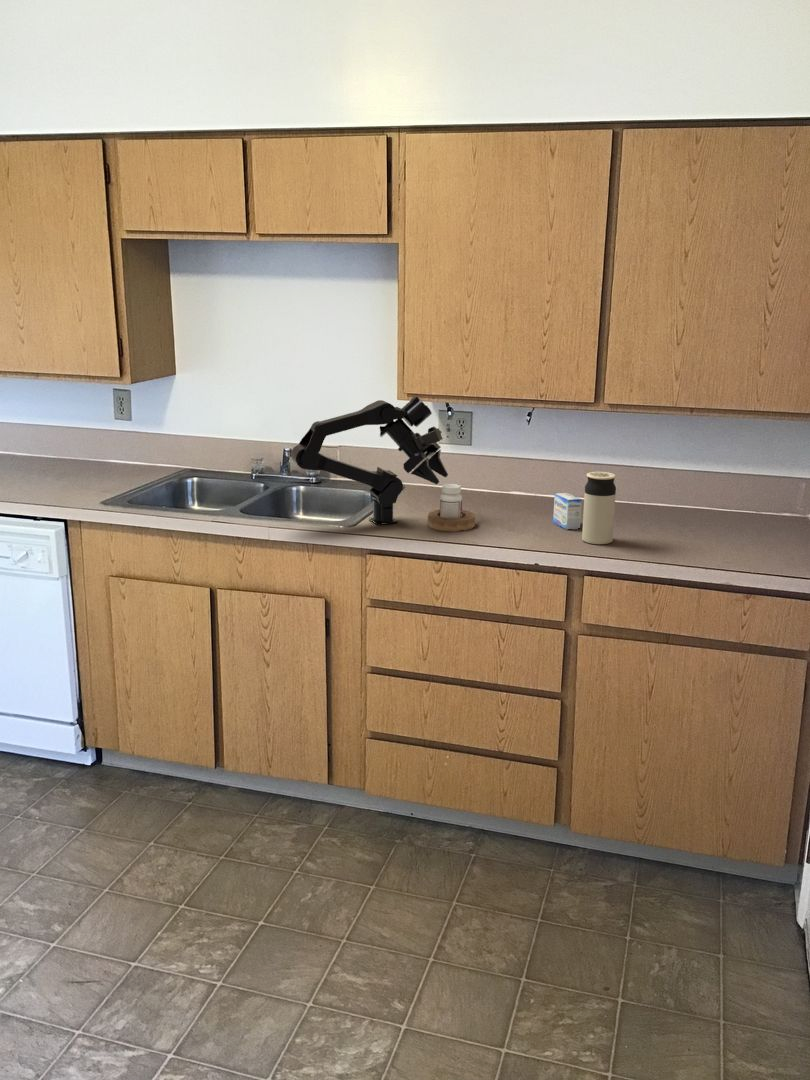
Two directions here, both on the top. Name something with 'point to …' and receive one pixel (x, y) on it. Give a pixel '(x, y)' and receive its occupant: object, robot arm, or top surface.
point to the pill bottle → (451, 501)
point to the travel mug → (599, 508)
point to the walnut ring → (451, 521)
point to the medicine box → (567, 511)
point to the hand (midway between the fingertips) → (442, 479)
